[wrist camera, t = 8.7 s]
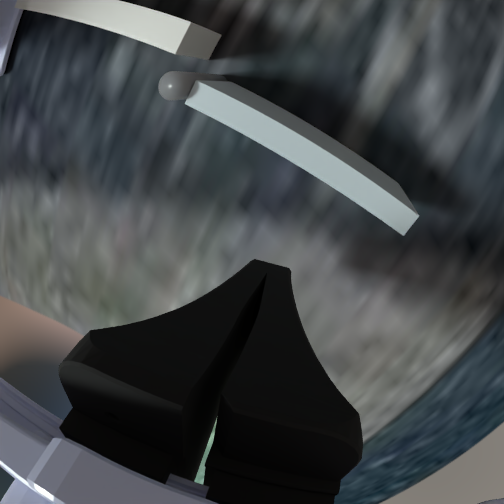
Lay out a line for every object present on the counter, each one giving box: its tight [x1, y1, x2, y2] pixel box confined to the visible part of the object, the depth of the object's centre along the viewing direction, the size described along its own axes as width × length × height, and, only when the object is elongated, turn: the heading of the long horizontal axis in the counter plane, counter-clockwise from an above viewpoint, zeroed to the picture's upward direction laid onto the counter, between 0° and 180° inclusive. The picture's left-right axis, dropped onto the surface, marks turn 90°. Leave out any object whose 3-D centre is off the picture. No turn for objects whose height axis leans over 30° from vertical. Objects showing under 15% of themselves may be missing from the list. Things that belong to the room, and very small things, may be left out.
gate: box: [159, 71, 419, 236], centre depth 10 cm, size 1×8×4 cm, turn 62°
